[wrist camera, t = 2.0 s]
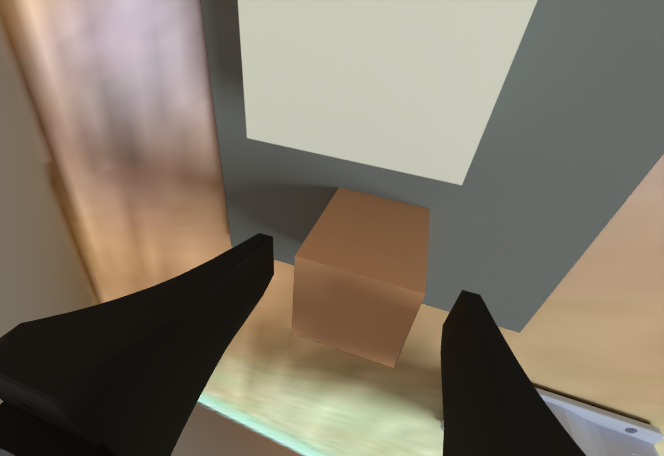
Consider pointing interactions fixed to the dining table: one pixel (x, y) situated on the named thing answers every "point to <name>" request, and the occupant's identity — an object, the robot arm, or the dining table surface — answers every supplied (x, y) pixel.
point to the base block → (378, 77)
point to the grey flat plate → (481, 156)
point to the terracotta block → (362, 275)
